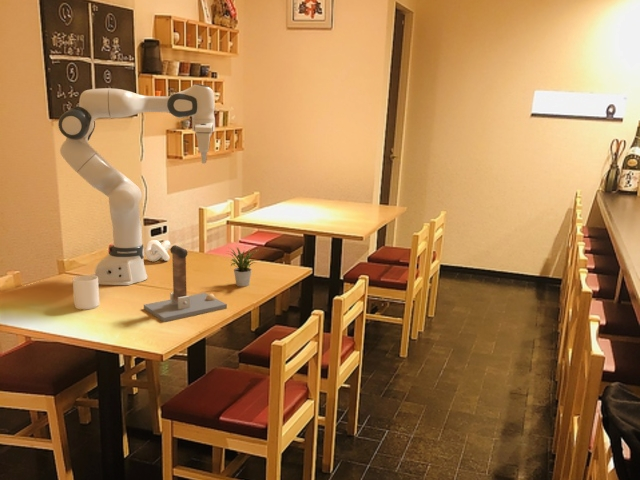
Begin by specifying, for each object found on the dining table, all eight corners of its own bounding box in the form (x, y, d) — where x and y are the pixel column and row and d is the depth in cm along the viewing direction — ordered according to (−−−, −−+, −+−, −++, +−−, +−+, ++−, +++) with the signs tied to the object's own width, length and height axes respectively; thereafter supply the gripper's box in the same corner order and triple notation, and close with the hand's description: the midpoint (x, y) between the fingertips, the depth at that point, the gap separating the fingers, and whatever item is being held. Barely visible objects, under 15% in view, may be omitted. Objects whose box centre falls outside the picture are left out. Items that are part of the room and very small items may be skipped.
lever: (180, 303, 206) (178, 249, 202) (171, 298, 211) (170, 245, 206) (188, 301, 208) (187, 248, 204) (180, 296, 213) (178, 244, 208)
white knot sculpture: (157, 255, 282) (156, 237, 280) (178, 258, 278) (178, 239, 276) (141, 261, 272) (140, 241, 270) (163, 264, 268) (162, 244, 266)
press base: (163, 322, 198) (163, 306, 197) (143, 308, 210) (143, 293, 209) (226, 308, 213) (226, 293, 212) (204, 296, 225) (204, 282, 224)
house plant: (214, 286, 237) (214, 246, 233) (232, 277, 250) (232, 239, 246) (246, 291, 232) (246, 250, 228) (263, 282, 245) (263, 243, 241)
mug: (85, 298, 219) (83, 271, 217) (107, 299, 219) (105, 272, 216) (70, 309, 207) (68, 281, 205) (93, 310, 207) (92, 282, 205)
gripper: (196, 125, 245) (196, 159, 249) (194, 127, 226) (195, 164, 229) (211, 125, 247) (212, 159, 250) (211, 128, 227) (212, 164, 230)
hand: (204, 161), depth 239 cm, fingers open, 8 cm apart
